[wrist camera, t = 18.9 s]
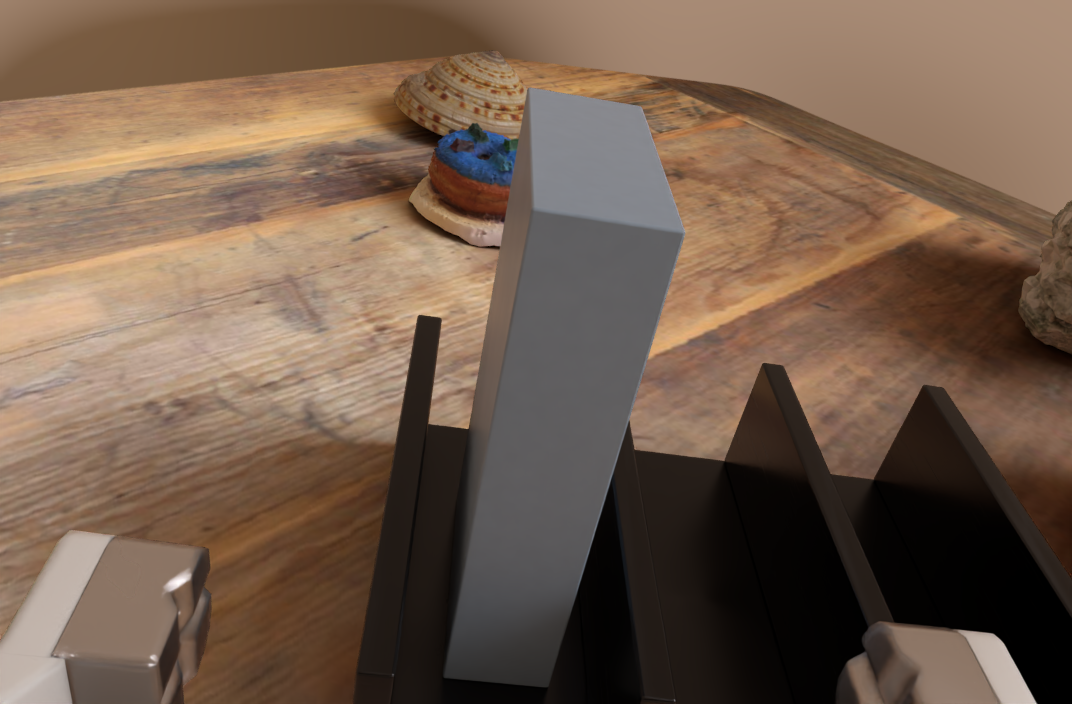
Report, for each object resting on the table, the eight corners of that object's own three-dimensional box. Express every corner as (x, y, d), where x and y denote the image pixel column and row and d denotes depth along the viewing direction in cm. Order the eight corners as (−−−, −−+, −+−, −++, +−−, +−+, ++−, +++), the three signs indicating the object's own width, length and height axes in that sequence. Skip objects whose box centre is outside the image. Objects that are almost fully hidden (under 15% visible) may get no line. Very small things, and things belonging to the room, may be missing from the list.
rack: (1060, 873, 20) (1188, 749, 17) (340, 821, 18) (355, 673, 16) (880, 502, 30) (943, 386, 27) (402, 444, 28) (417, 313, 25)
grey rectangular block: (441, 678, 20) (531, 207, 14) (457, 493, 25) (527, 83, 19) (548, 689, 21) (686, 232, 14) (542, 503, 26) (641, 103, 19)
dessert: (375, 168, 43) (453, 73, 42) (459, 225, 48) (530, 141, 47) (448, 258, 38) (538, 153, 37) (532, 310, 44) (613, 219, 42)
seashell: (409, 54, 55) (532, 29, 53) (434, 141, 57) (552, 121, 55) (364, 90, 48) (503, 63, 46) (394, 187, 51) (528, 166, 48)
